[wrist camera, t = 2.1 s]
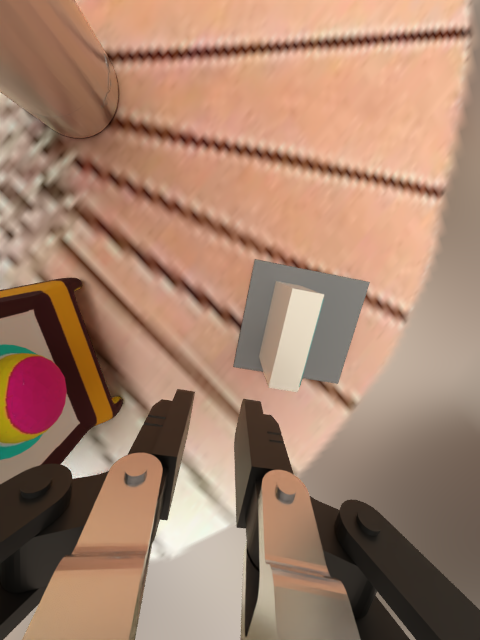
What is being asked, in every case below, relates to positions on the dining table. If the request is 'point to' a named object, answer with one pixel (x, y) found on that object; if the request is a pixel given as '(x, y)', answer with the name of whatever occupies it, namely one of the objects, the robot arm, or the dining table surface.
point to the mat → (332, 324)
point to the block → (289, 334)
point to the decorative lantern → (46, 377)
